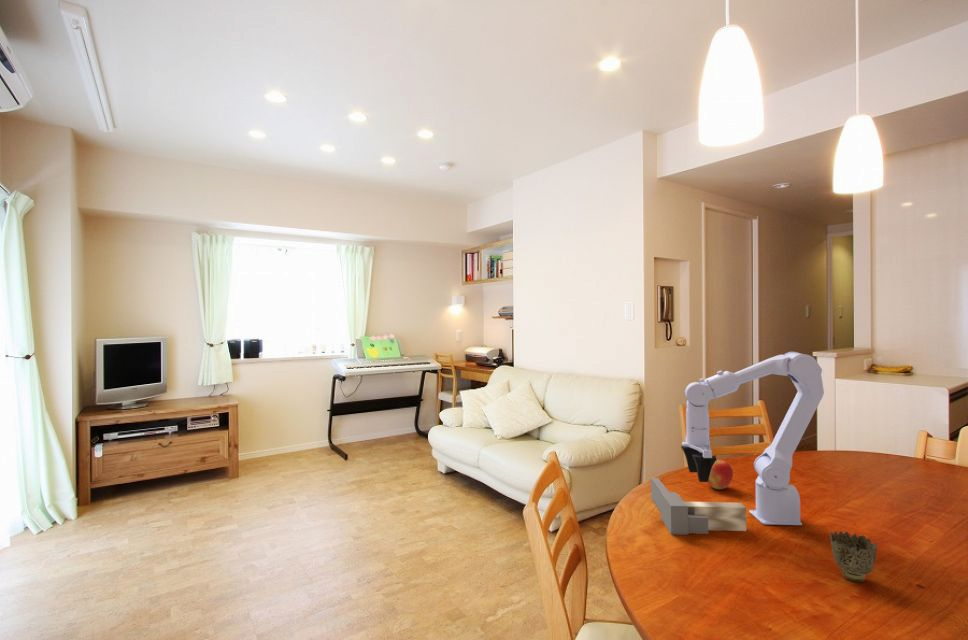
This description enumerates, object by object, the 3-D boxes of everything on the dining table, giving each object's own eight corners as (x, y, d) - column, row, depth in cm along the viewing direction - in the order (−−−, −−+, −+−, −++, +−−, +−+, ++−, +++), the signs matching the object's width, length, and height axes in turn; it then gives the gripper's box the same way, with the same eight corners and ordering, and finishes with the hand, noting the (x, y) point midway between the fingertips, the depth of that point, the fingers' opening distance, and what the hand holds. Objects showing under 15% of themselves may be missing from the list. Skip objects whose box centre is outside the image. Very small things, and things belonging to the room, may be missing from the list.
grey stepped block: (679, 498, 137) (679, 474, 137) (709, 535, 115) (709, 506, 115) (647, 498, 138) (647, 474, 138) (671, 534, 115) (670, 505, 115)
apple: (722, 494, 140) (722, 461, 140) (698, 486, 147) (697, 454, 147) (738, 489, 144) (738, 456, 144) (714, 481, 151) (713, 450, 151)
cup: (886, 590, 91) (885, 549, 91) (842, 587, 92) (842, 546, 92) (863, 570, 98) (862, 532, 98) (823, 567, 100) (823, 529, 99)
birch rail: (740, 526, 120) (740, 502, 120) (746, 531, 117) (746, 507, 117) (683, 524, 121) (683, 501, 121) (687, 530, 118) (687, 506, 118)
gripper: (674, 421, 136) (674, 467, 136) (691, 433, 122) (692, 485, 122) (699, 421, 136) (700, 468, 136) (720, 433, 121) (720, 486, 121)
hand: (698, 476), depth 129 cm, fingers open, 7 cm apart
